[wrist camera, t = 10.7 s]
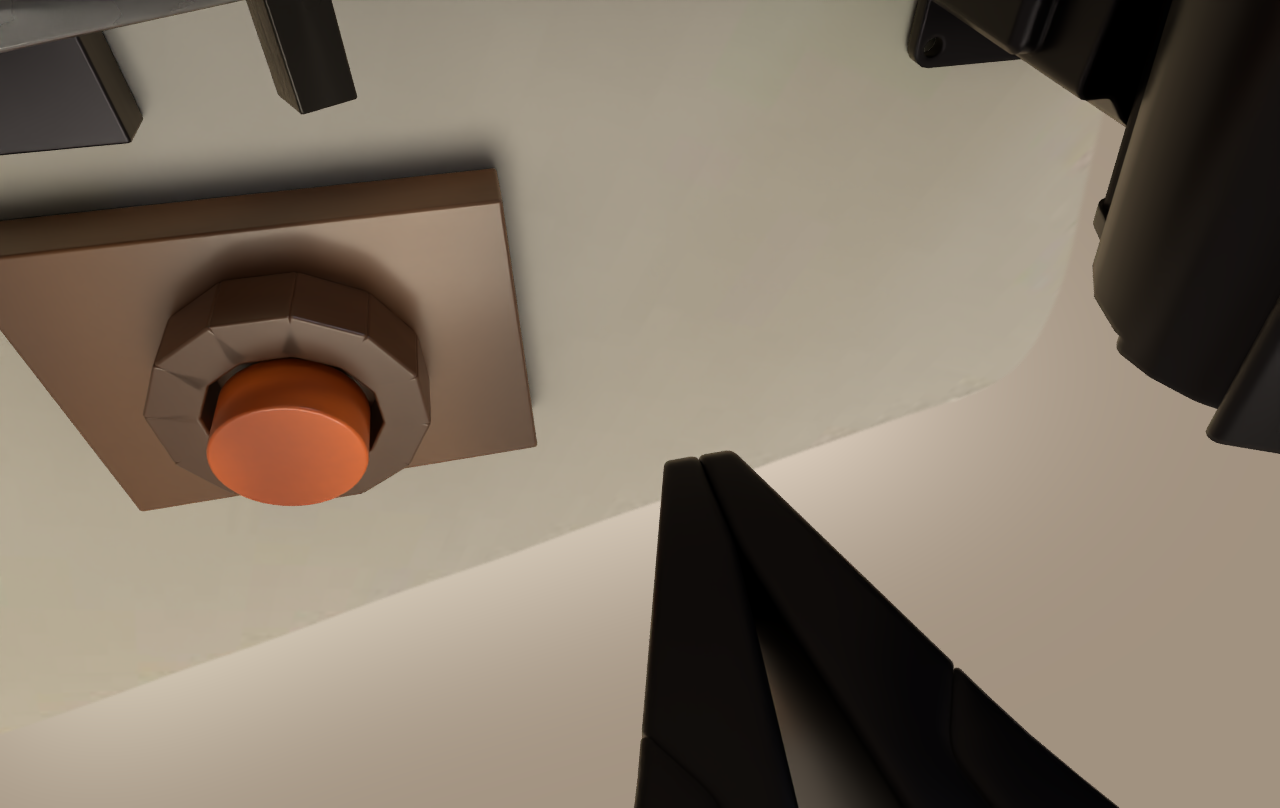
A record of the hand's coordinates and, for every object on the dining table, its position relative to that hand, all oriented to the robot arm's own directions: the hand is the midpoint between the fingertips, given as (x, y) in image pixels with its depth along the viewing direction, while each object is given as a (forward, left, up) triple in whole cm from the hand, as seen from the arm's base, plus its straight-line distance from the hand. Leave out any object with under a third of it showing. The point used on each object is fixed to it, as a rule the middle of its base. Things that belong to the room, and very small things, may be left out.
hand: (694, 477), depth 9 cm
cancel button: (+8, +7, -10) cm, 14 cm away
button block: (+8, +7, -13) cm, 17 cm away
